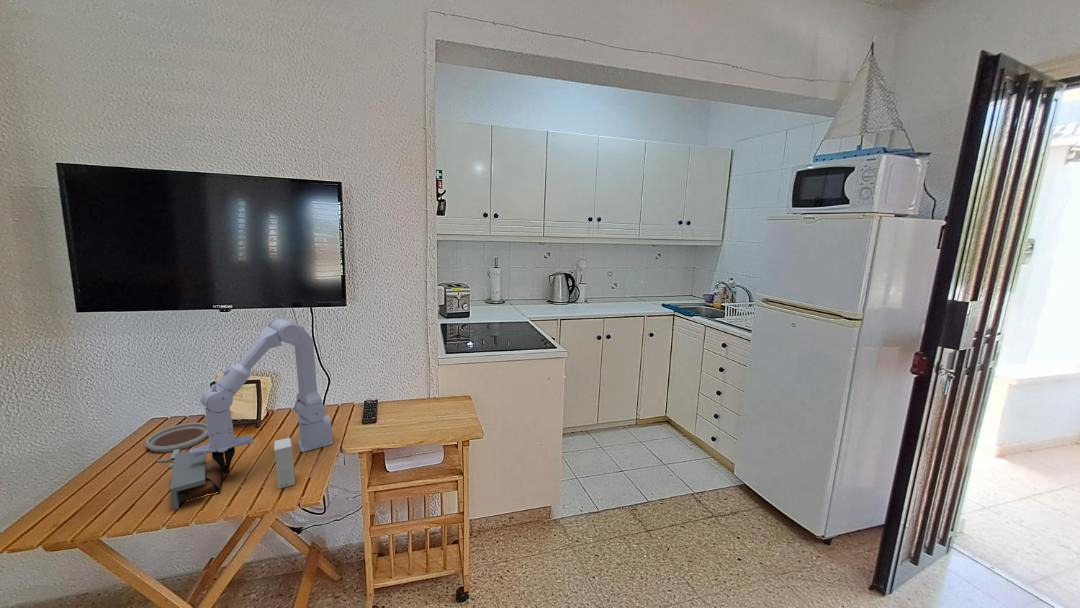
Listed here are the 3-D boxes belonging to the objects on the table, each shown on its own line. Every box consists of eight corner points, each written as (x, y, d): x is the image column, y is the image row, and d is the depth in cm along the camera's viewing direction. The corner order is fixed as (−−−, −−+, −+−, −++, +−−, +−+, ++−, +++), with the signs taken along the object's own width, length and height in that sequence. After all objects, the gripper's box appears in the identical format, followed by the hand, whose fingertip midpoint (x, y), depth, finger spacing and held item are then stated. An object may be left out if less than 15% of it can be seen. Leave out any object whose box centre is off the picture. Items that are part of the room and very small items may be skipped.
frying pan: (132, 471, 123) (149, 428, 146) (133, 480, 124) (150, 436, 147) (206, 454, 133) (212, 417, 155) (207, 462, 133) (213, 424, 156)
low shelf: (208, 465, 131) (205, 446, 129) (207, 500, 115) (204, 479, 114) (178, 472, 126) (175, 453, 125) (173, 510, 111) (170, 489, 110)
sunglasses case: (189, 469, 128) (201, 449, 129) (216, 474, 132) (227, 454, 133) (181, 503, 113) (194, 480, 114) (211, 507, 117) (224, 485, 118)
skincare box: (295, 484, 122) (291, 446, 120) (278, 489, 120) (273, 450, 118) (294, 473, 128) (290, 436, 125) (277, 478, 125) (273, 440, 123)
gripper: (187, 442, 115) (194, 488, 118) (252, 428, 124) (257, 470, 126) (188, 431, 120) (195, 475, 123) (250, 418, 129) (255, 459, 132)
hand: (226, 472), depth 125 cm, fingers closed
